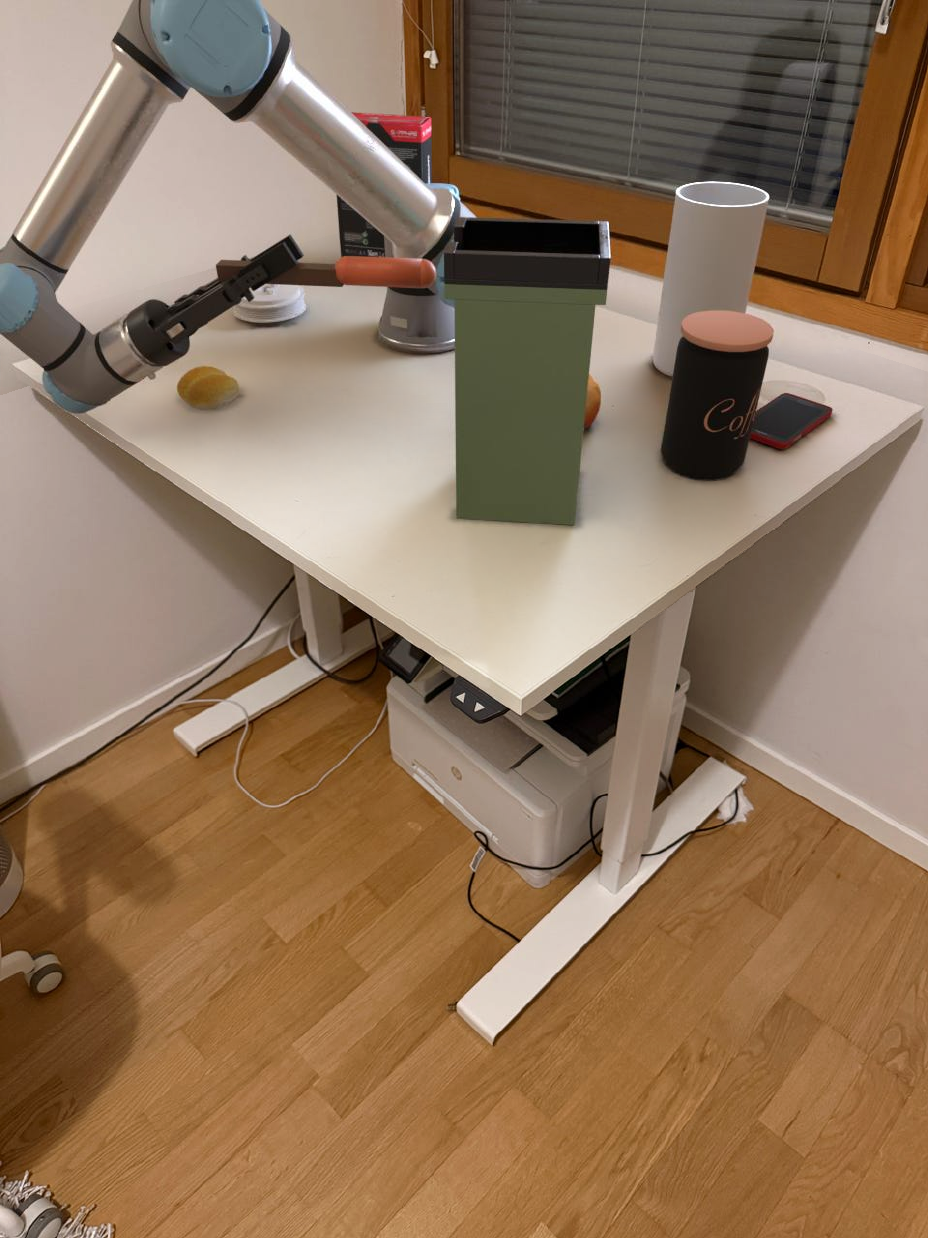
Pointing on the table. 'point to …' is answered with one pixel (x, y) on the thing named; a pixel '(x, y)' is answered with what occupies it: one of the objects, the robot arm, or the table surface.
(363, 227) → the graphics card box
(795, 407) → the cell phone
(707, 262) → the cylinder vase
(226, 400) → the bread roll
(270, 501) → the table surface
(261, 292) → the lid
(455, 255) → the black rectangular open tray
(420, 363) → the table surface
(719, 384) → the coffee jar
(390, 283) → the brown orange rod
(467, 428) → the shelf stand
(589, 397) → the fruit
